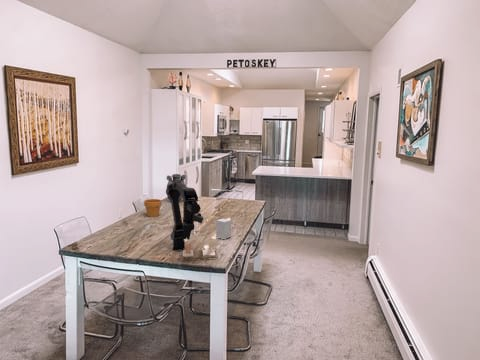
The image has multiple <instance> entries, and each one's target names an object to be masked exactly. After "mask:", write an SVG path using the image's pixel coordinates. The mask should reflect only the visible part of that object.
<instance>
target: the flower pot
mask: <svg viewBox="0 0 480 360" xmlns="http://www.w3.org/2000/svg"><path fill="white" fill-rule="evenodd" d="M162 203H163V201H162V199H159V198H158V199H157V198H151V199H144V201H143V204H144V205H143V206H144V207H145V210H146V215H147V217H148V216H149V218H156V217H158V216H159V215H160V211H161V210H160V209H161V206H162V205H163V204H162Z"/></svg>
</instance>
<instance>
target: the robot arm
mask: <svg viewBox="0 0 480 360" xmlns="http://www.w3.org/2000/svg"><path fill="white" fill-rule="evenodd" d="M180 193H181V196H182V202H183V205H182V206H183V207H182V208H183V210H182V212H183V216H182V214H181V208H180V203H179V200H178V199H179V197H180ZM165 194H166V195H167V199H168V200H169V201H170V204H171V211H172V217H173V223H174V225H173V227H172V232H171V234H170V239H171V240H172V241H173V243H172V244H173V245H172V246H173V247H172V251H183V250H185V244H186V243H185V240H190V238H191V235H192V234H191V233H192V231H194V229H195V222H197V223H199V224H202V223H203V221H204V216H203V215H202V213H200V212H201V206H200V204H199V203H198V201H199V196H198V194H197V191H196V189H195V188H193V187H188V186H186V184H185V185H184V184H182V182H180V181H175V182H173V183H172V184H171V185H169V186H168V187H167V186H166V189H165Z"/></svg>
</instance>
